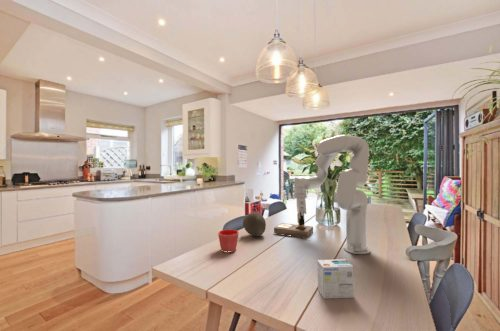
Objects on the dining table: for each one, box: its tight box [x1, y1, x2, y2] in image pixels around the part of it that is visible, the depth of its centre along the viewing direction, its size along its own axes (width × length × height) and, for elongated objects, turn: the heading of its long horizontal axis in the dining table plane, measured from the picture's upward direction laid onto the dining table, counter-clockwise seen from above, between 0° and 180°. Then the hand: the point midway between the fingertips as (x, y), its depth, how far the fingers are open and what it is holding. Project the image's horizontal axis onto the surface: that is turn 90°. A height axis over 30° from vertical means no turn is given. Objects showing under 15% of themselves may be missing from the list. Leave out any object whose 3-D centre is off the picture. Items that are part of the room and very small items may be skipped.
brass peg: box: [296, 212, 305, 230], centre depth 151 cm, size 4×4×14 cm
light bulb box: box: [316, 258, 355, 299], centre depth 81 cm, size 11×7×11 cm, turn 92°
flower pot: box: [217, 229, 239, 252], centre depth 125 cm, size 11×11×10 cm
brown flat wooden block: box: [273, 222, 314, 239], centre depth 154 cm, size 14×22×4 cm, turn 61°
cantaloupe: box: [242, 212, 267, 237], centre depth 149 cm, size 14×14×15 cm
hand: (301, 223), depth 151 cm, fingers closed on brass peg, 4 cm apart
